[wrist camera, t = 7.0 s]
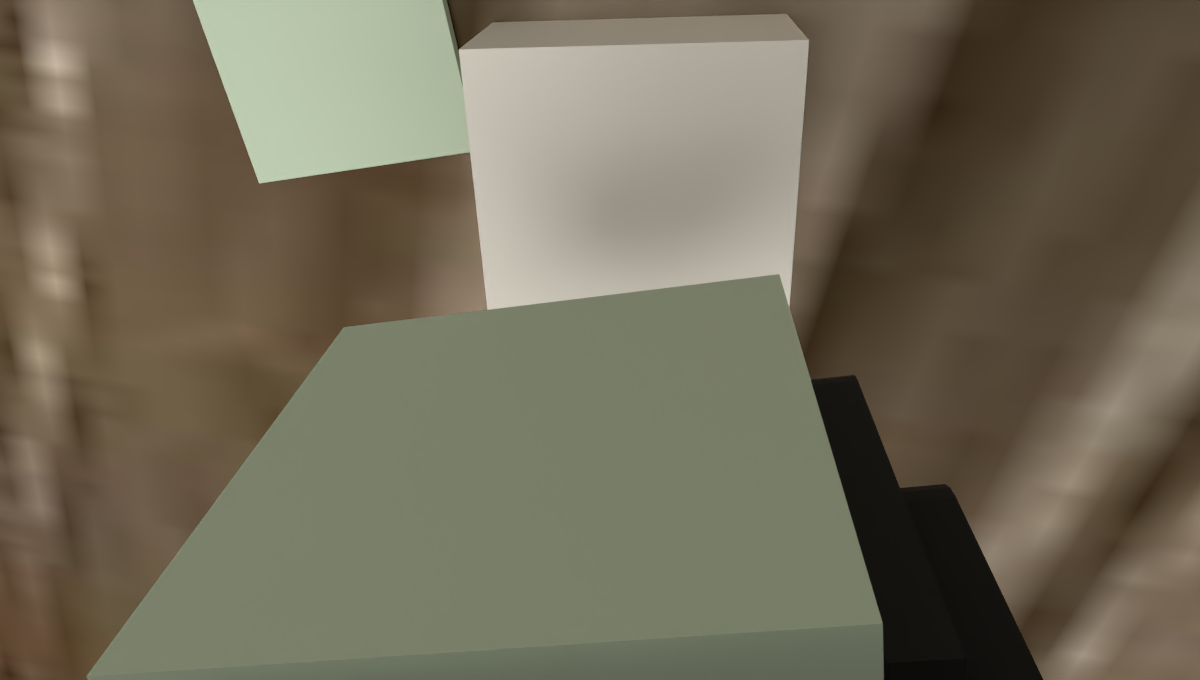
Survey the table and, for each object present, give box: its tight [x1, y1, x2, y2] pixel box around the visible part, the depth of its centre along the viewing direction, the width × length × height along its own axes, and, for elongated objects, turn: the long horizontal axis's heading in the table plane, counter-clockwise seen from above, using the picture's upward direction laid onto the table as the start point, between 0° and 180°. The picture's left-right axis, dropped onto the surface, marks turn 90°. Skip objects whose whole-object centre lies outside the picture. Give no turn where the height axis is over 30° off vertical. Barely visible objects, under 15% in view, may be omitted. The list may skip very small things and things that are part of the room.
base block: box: [459, 14, 809, 310], centre depth 20 cm, size 7×7×4 cm
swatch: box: [193, 0, 470, 183], centre depth 21 cm, size 6×6×1 cm
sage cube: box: [86, 274, 884, 680], centre depth 9 cm, size 5×5×5 cm
